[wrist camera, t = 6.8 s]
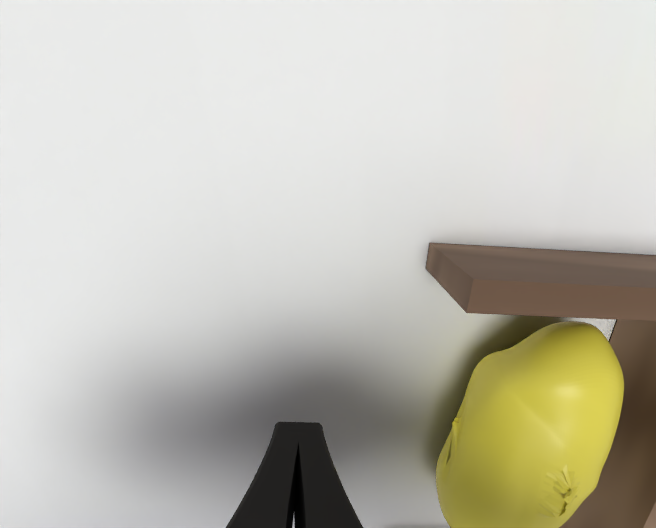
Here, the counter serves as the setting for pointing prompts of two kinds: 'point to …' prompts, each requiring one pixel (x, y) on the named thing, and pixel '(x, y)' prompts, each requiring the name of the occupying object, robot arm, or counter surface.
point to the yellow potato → (532, 431)
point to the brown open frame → (580, 302)
